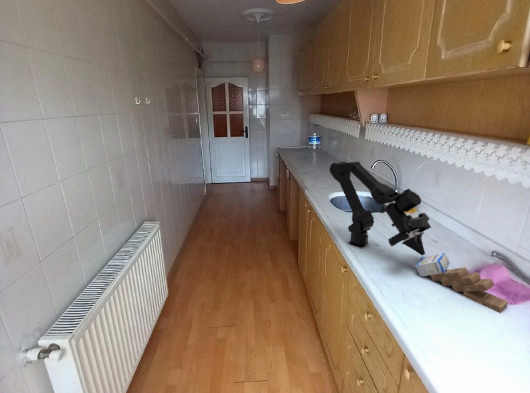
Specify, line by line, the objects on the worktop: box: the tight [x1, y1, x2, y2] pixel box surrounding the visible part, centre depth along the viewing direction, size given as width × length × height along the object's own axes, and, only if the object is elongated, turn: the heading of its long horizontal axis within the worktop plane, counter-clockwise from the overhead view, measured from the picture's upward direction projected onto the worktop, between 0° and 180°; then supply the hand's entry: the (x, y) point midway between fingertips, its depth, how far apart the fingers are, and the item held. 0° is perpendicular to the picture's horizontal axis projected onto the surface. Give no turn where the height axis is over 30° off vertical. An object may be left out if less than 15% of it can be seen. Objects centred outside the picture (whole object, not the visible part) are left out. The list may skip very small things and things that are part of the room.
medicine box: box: [415, 252, 451, 277], centre depth 106 cm, size 8×4×9 cm
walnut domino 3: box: [451, 278, 495, 292], centre depth 95 cm, size 2×5×10 cm
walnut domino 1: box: [429, 266, 469, 282], centre depth 100 cm, size 2×5×10 cm
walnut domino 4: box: [462, 291, 509, 314], centre depth 92 cm, size 2×5×10 cm
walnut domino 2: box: [440, 272, 482, 287], centre depth 98 cm, size 2×5×10 cm
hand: (423, 254), depth 107 cm, fingers closed
